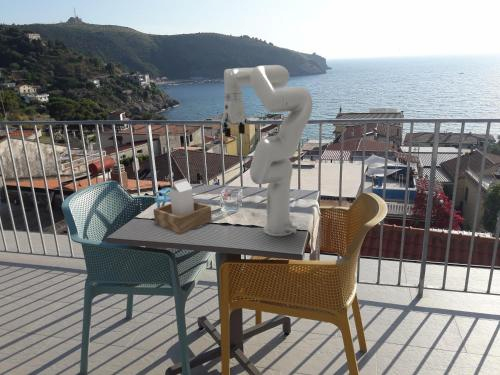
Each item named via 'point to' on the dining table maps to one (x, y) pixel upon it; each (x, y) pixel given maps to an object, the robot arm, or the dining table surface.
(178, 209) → the milk carton
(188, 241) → the dining table surface
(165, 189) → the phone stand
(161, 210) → the wooden crate
